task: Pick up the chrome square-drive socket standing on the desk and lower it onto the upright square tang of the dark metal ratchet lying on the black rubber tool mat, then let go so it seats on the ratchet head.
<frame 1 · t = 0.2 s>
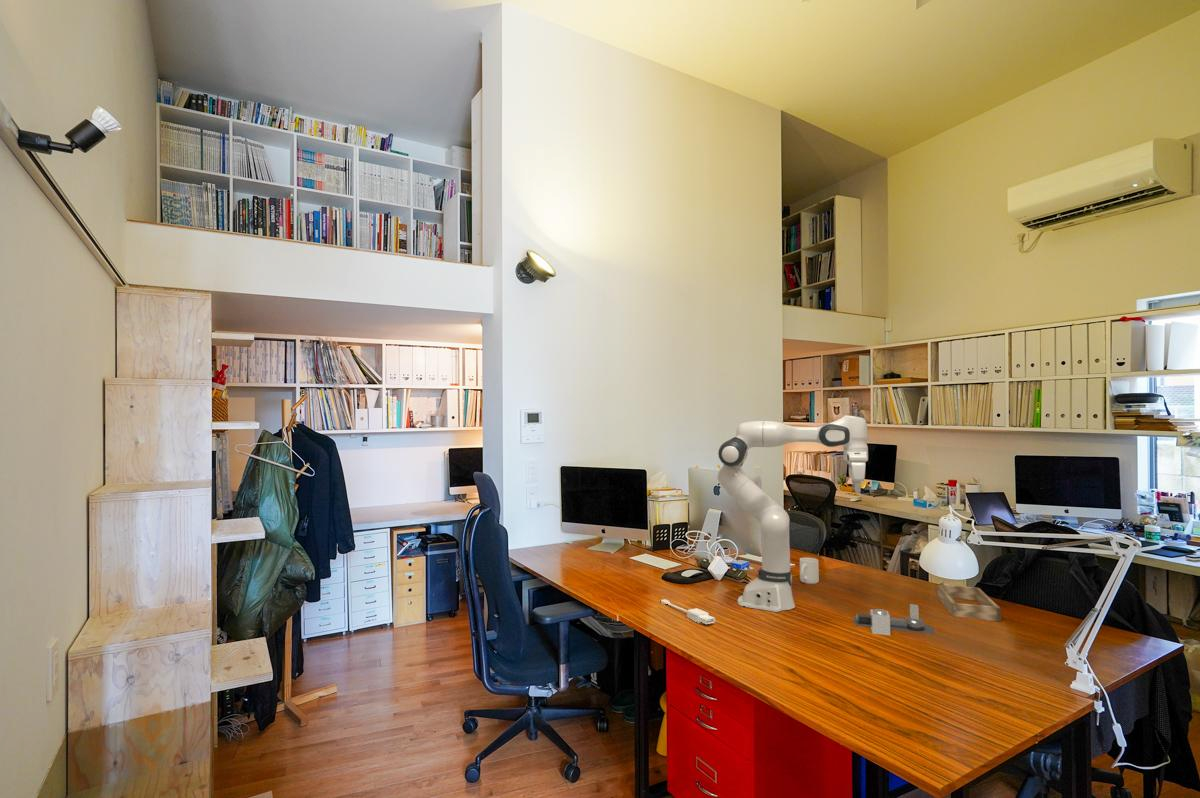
hand: (856, 491, 223), 47 cm above the table, fingers open, 8 cm apart
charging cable: (685, 615, 221), on the table
tool mat: (892, 626, 207), on the table
ratchet: (902, 626, 205), resting on tool mat
mug: (807, 583, 265), on the table
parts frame: (966, 607, 228), on the table
socket: (880, 632, 200), on the table
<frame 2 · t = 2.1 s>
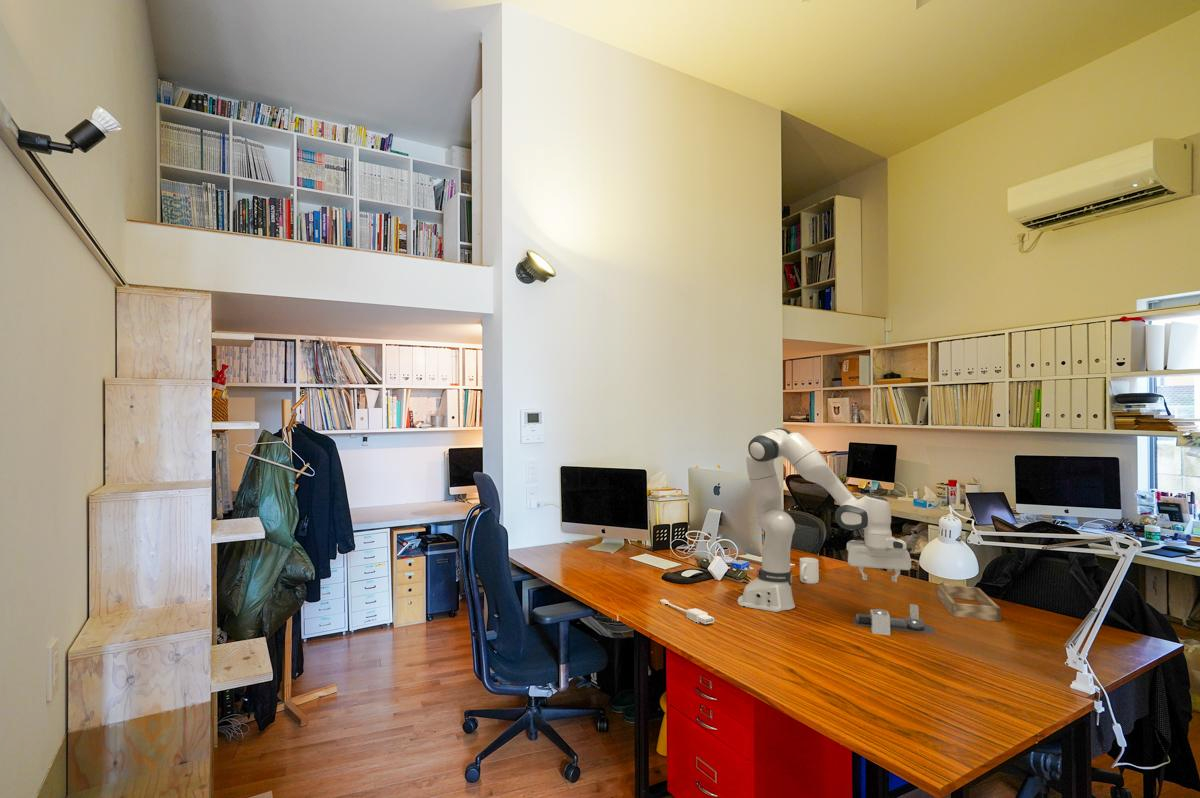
hand: (879, 580, 201), 18 cm above the table, fingers open, 8 cm apart
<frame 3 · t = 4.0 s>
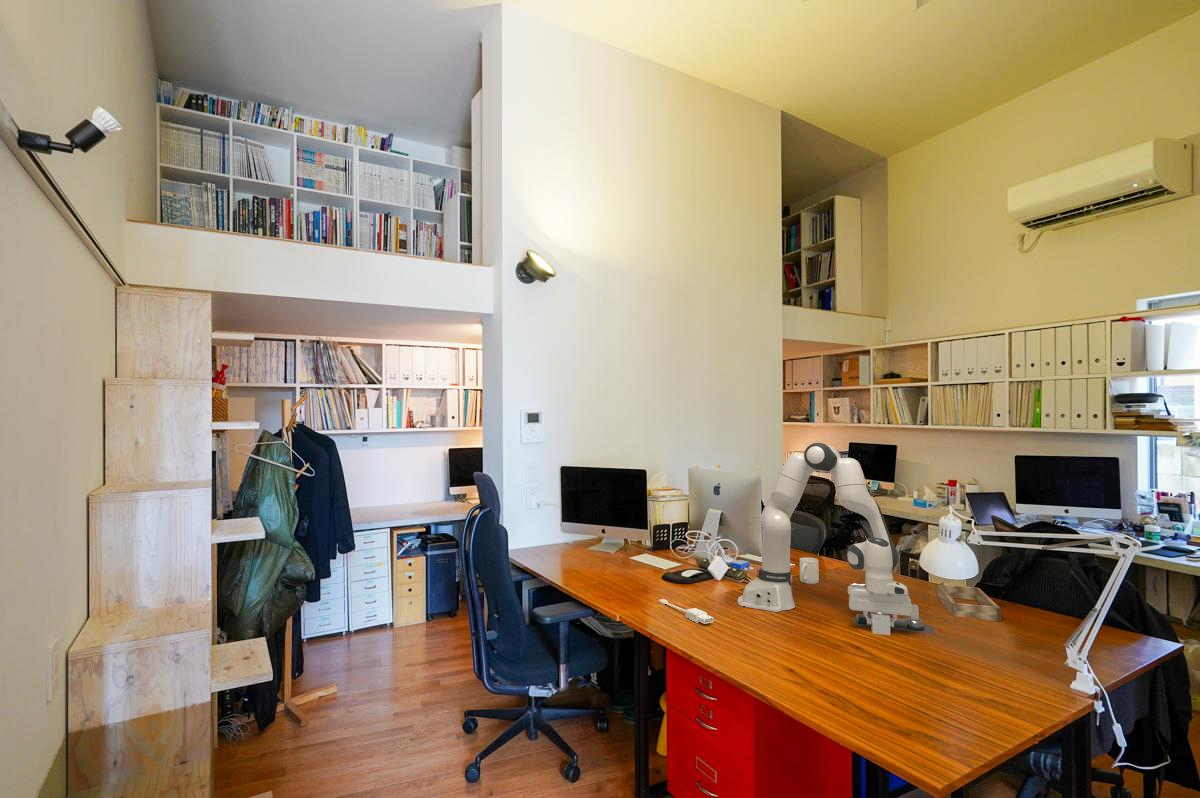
hand: (880, 625, 201), 3 cm above the table, fingers closed on socket, 6 cm apart
socket: (880, 632, 200), on the table, touching gripper
everything else where it was.
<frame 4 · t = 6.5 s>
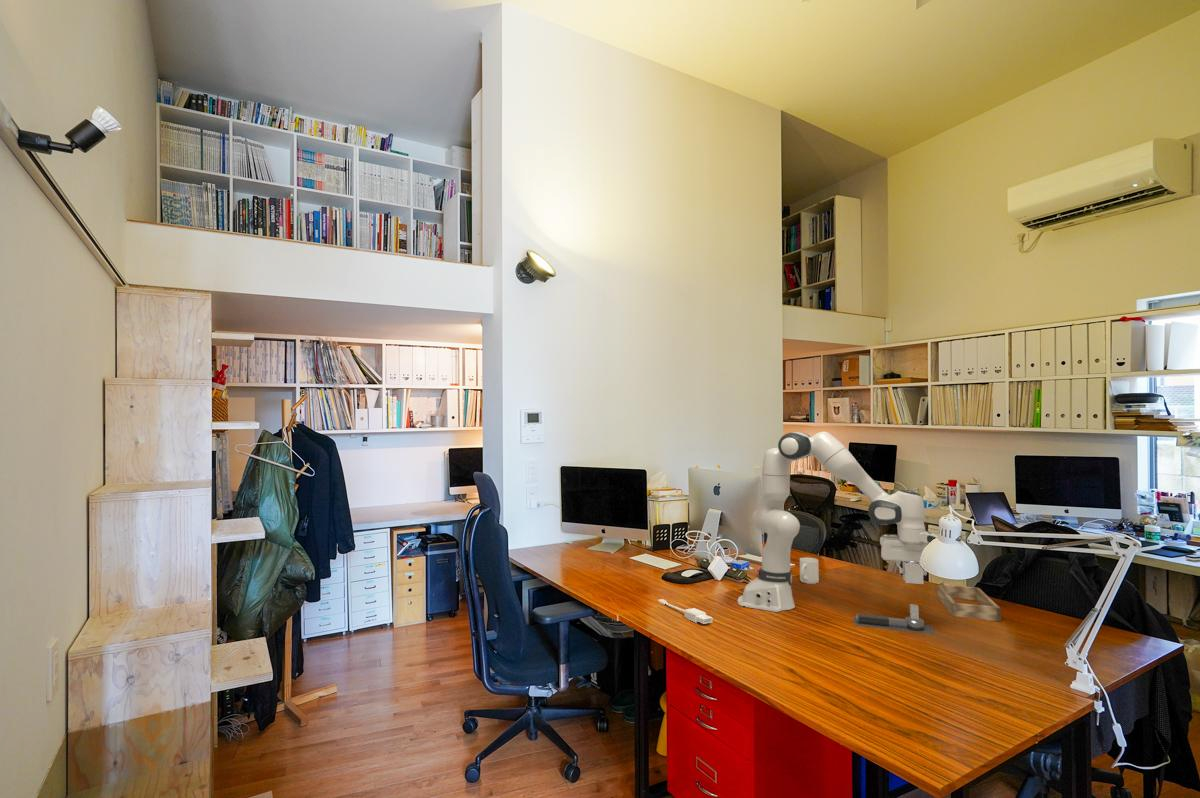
hand: (912, 574, 205), 20 cm above the table, fingers closed on socket, 6 cm apart
socket: (913, 581, 204), point 17 cm above the table, touching gripper
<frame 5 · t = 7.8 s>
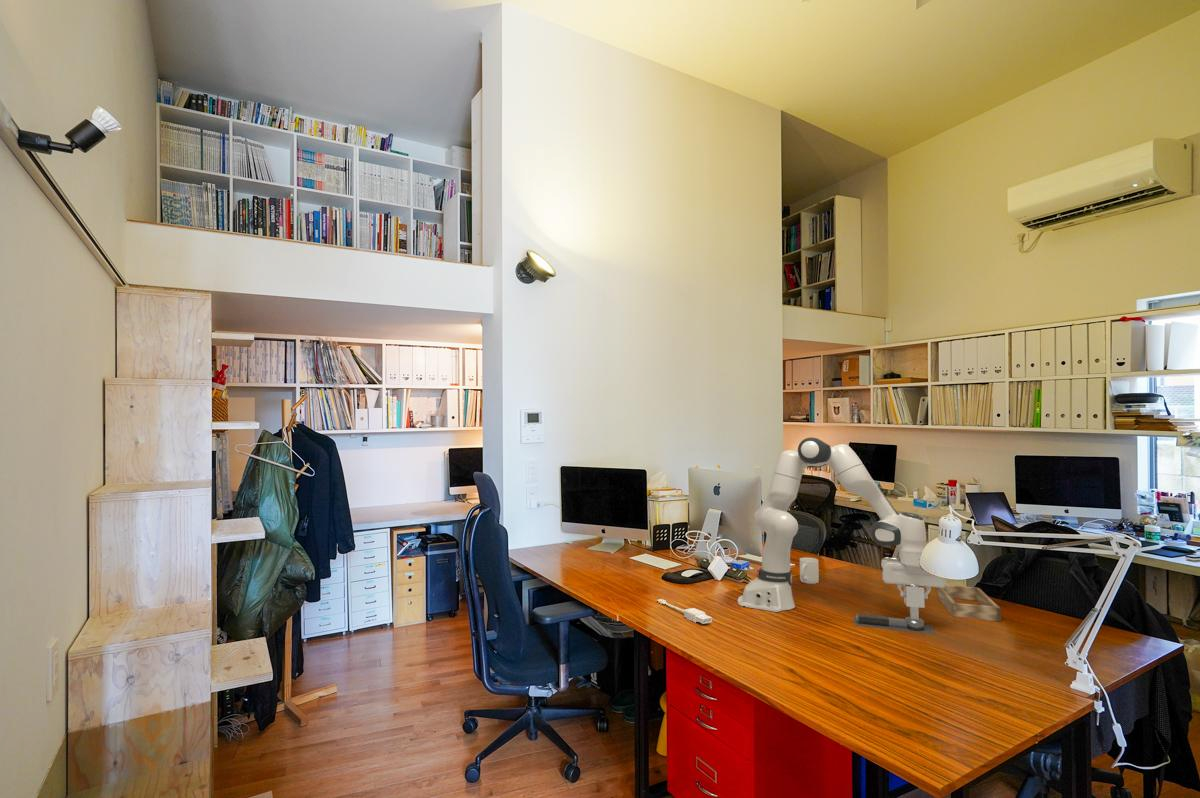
hand: (914, 597, 204), 11 cm above the table, fingers closed on socket, 6 cm apart
socket: (914, 604, 204), point 9 cm above the table, touching gripper
when the fingers open (8 cm above the table, at t = 8.9 s): socket drops 2 cm, resting on ratchet.
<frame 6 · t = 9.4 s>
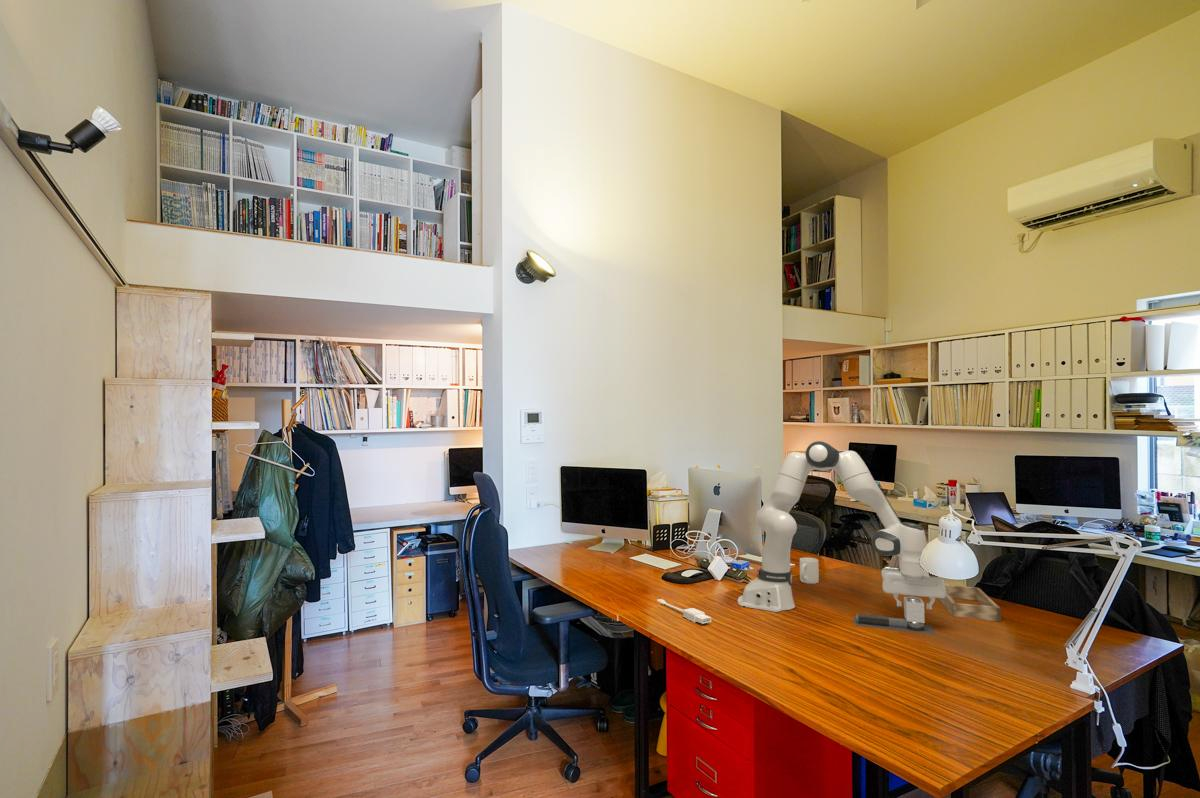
hand: (913, 607, 204), 8 cm above the table, fingers open, 8 cm apart
socket: (914, 619, 204), point 3 cm above the table, touching ratchet
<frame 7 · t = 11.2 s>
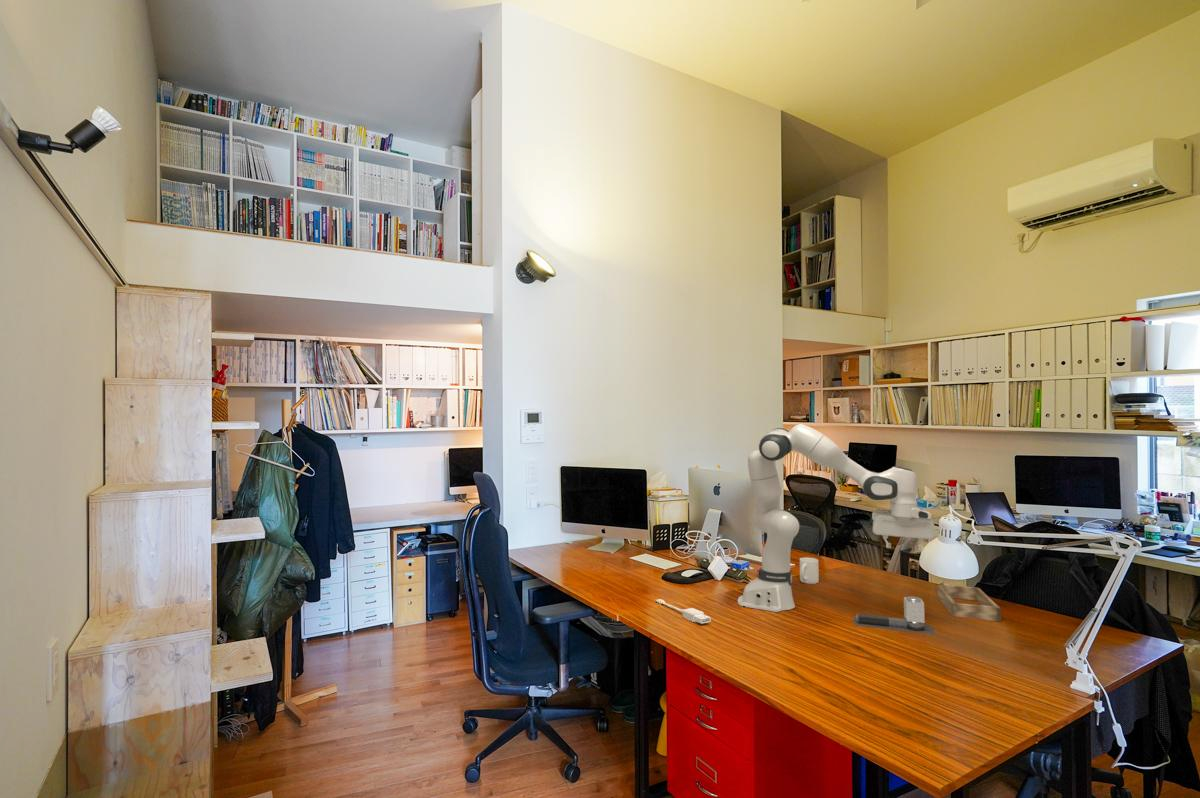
hand: (902, 549, 208), 28 cm above the table, fingers open, 8 cm apart
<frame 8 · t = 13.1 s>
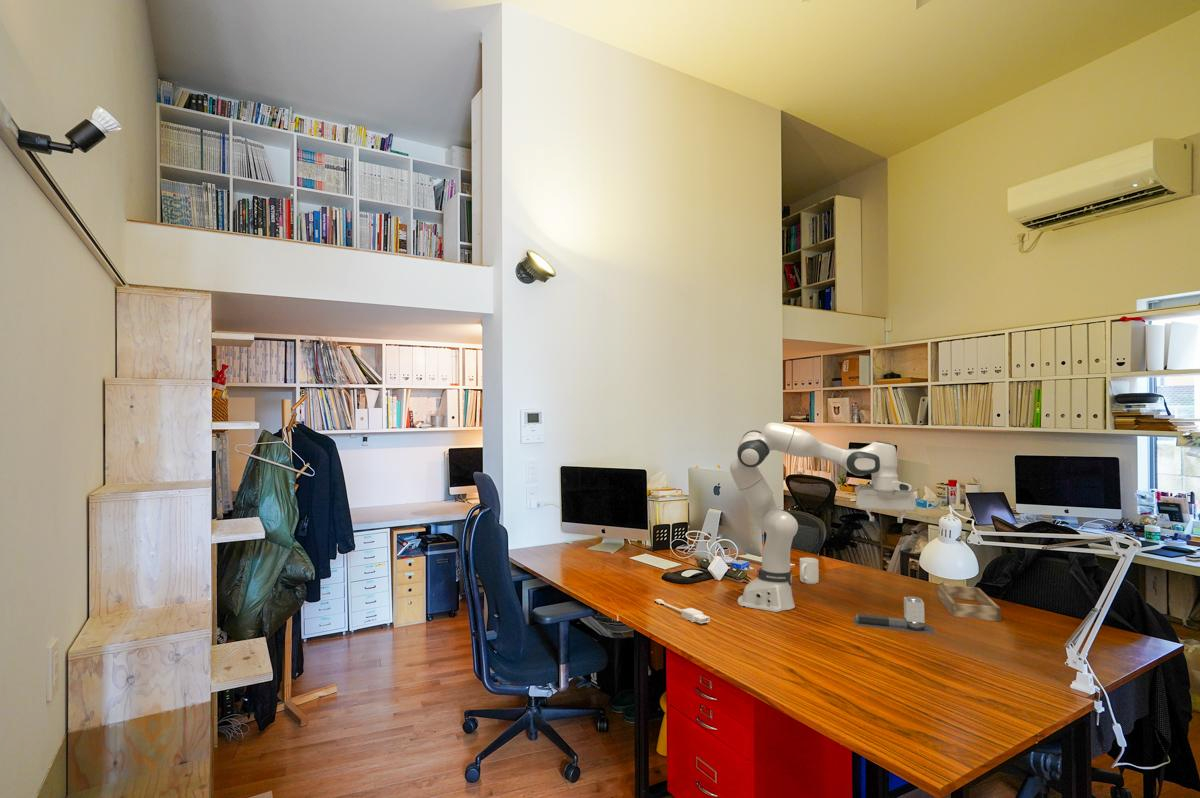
hand: (885, 521, 212), 37 cm above the table, fingers open, 8 cm apart
at the end: socket 0.1 cm from the target spot on the ratchet, point 3.0 cm above the ratchet's base; socket tilted 0°; the gripper is holding nothing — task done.
